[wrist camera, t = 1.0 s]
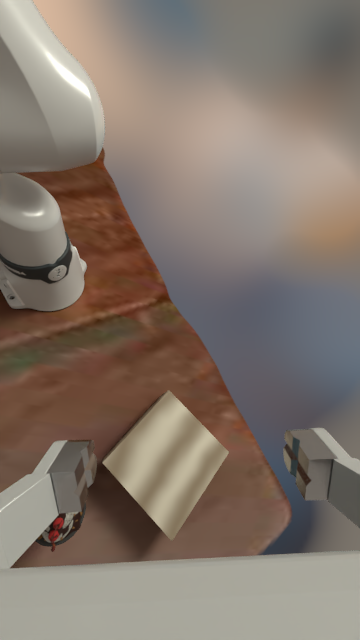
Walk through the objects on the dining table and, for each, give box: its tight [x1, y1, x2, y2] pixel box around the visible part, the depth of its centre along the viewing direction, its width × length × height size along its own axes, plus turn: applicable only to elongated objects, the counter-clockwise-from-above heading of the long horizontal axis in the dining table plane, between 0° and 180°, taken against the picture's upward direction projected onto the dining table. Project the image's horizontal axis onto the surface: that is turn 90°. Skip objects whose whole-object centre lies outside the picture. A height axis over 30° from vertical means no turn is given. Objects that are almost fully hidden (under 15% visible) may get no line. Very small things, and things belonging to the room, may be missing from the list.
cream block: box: [103, 391, 229, 541], centre depth 43 cm, size 16×16×6 cm
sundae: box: [35, 502, 86, 552], centre depth 33 cm, size 7×7×15 cm
